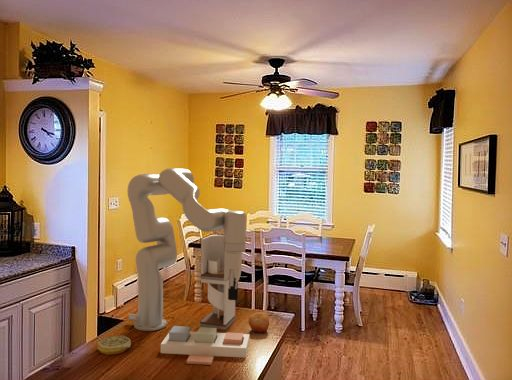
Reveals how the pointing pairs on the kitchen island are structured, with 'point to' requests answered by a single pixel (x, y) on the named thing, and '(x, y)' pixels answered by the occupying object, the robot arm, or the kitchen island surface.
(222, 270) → the tiered shelf stand
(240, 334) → the key terracotta
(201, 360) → the tile
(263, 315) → the fruit
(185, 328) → the key slate blue
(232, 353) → the keypad board
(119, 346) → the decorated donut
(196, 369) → the kitchen island surface
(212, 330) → the key sage
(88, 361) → the kitchen island surface
